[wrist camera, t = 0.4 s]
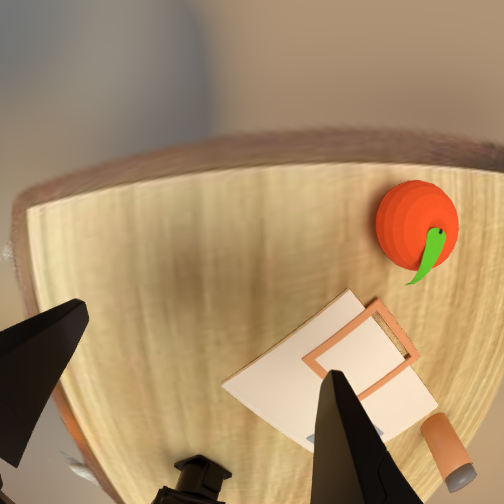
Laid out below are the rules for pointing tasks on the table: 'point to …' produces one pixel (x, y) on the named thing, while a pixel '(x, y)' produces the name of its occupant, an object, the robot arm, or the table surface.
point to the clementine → (417, 226)
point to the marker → (448, 452)
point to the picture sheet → (338, 358)
